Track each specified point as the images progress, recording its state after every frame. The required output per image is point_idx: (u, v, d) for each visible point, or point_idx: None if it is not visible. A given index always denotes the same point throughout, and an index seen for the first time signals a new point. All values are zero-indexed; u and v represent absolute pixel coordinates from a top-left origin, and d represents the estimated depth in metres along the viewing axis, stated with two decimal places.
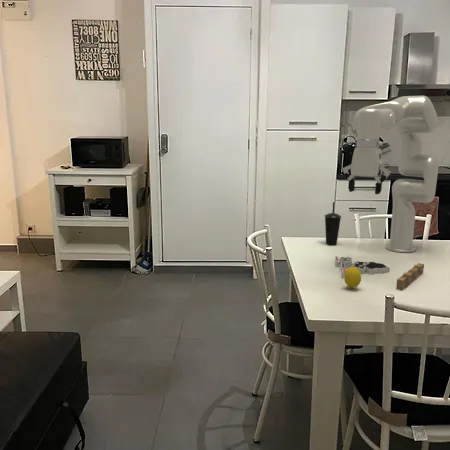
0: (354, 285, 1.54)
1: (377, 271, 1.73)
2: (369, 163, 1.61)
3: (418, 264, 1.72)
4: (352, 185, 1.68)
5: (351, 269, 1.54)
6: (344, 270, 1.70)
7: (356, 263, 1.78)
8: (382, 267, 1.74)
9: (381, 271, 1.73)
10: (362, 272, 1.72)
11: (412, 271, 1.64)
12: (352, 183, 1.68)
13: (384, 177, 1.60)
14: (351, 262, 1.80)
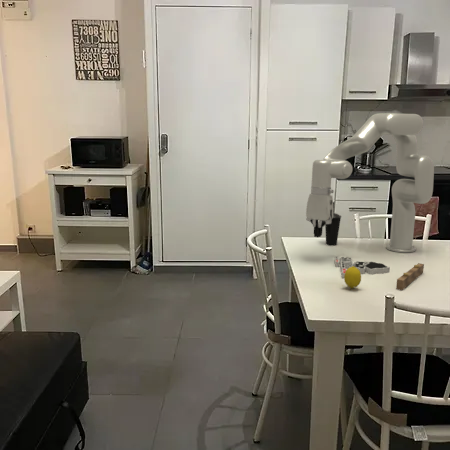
0: (354, 285, 1.54)
1: (377, 271, 1.73)
2: (321, 208, 1.80)
3: (418, 264, 1.72)
4: None
5: (351, 269, 1.54)
6: (344, 270, 1.70)
7: (356, 263, 1.78)
8: (382, 266, 1.74)
9: (381, 271, 1.73)
10: (362, 272, 1.72)
11: (412, 271, 1.64)
12: None
13: (324, 223, 1.81)
14: (351, 262, 1.80)
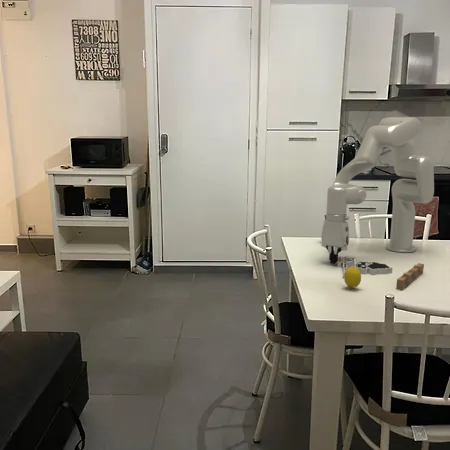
0: (354, 285, 1.54)
1: (380, 271, 1.72)
2: (337, 235, 1.78)
3: (418, 264, 1.72)
4: None
5: (351, 269, 1.54)
6: None
7: (358, 263, 1.78)
8: (384, 267, 1.73)
9: (383, 272, 1.72)
10: (364, 272, 1.72)
11: (412, 271, 1.64)
12: None
13: (339, 249, 1.79)
14: (354, 262, 1.79)
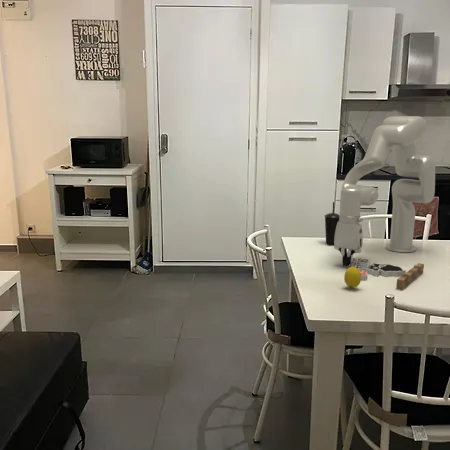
0: (354, 285, 1.54)
1: (392, 274, 1.69)
2: (350, 237, 1.74)
3: (418, 264, 1.72)
4: None
5: (351, 269, 1.54)
6: None
7: (372, 265, 1.76)
8: (397, 270, 1.71)
9: (396, 274, 1.69)
10: (376, 274, 1.70)
11: (412, 271, 1.64)
12: None
13: (353, 252, 1.76)
14: (367, 264, 1.78)
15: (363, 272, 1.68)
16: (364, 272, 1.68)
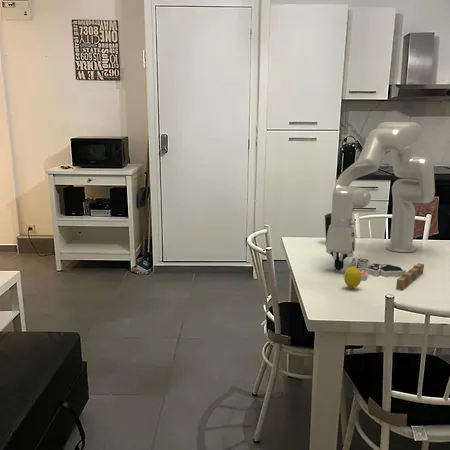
0: (354, 285, 1.54)
1: (392, 274, 1.69)
2: (342, 241, 1.69)
3: (418, 264, 1.72)
4: None
5: (351, 269, 1.54)
6: None
7: (372, 265, 1.76)
8: (397, 270, 1.71)
9: (396, 274, 1.69)
10: (376, 274, 1.70)
11: (412, 271, 1.64)
12: None
13: (345, 256, 1.71)
14: (367, 264, 1.78)
15: (363, 272, 1.68)
16: (364, 272, 1.68)
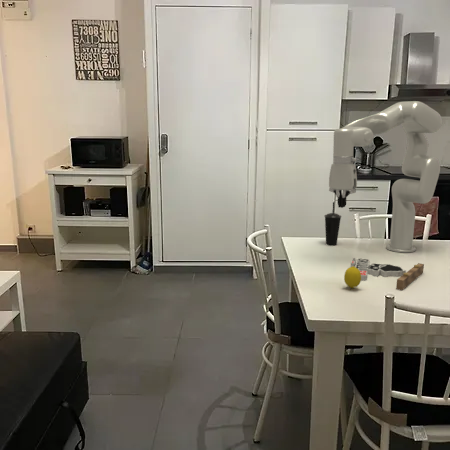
0: (354, 285, 1.54)
1: (392, 274, 1.69)
2: (345, 178, 1.77)
3: (418, 264, 1.72)
4: None
5: (351, 269, 1.54)
6: None
7: (372, 265, 1.76)
8: (397, 270, 1.71)
9: (396, 274, 1.69)
10: (376, 274, 1.70)
11: (412, 271, 1.64)
12: None
13: (348, 192, 1.79)
14: (367, 264, 1.78)
15: (363, 272, 1.68)
16: (364, 272, 1.68)
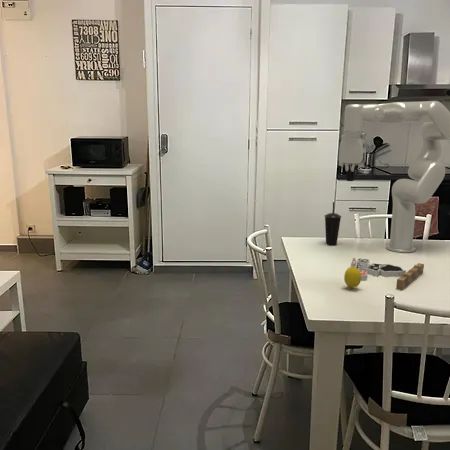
0: (354, 285, 1.54)
1: (392, 274, 1.69)
2: (354, 152, 1.84)
3: (418, 264, 1.72)
4: None
5: (351, 269, 1.54)
6: None
7: (372, 265, 1.76)
8: (397, 270, 1.71)
9: (396, 274, 1.69)
10: (376, 274, 1.70)
11: (412, 271, 1.64)
12: None
13: (356, 166, 1.86)
14: (367, 264, 1.78)
15: (363, 272, 1.68)
16: (364, 272, 1.68)
